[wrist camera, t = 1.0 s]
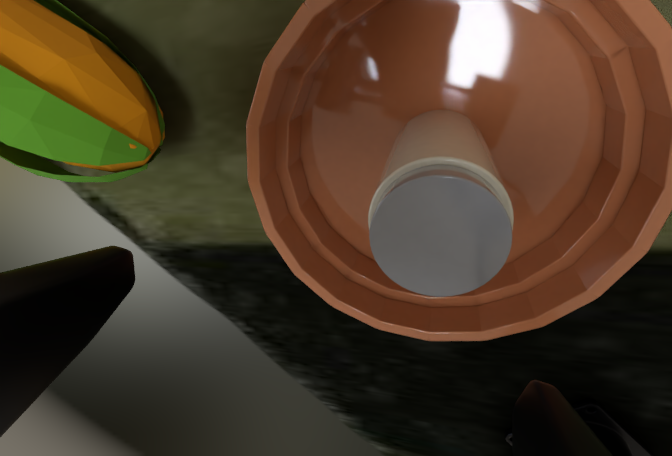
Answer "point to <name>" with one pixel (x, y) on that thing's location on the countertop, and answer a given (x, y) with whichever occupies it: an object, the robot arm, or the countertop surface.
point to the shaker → (440, 208)
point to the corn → (71, 96)
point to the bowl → (500, 136)
